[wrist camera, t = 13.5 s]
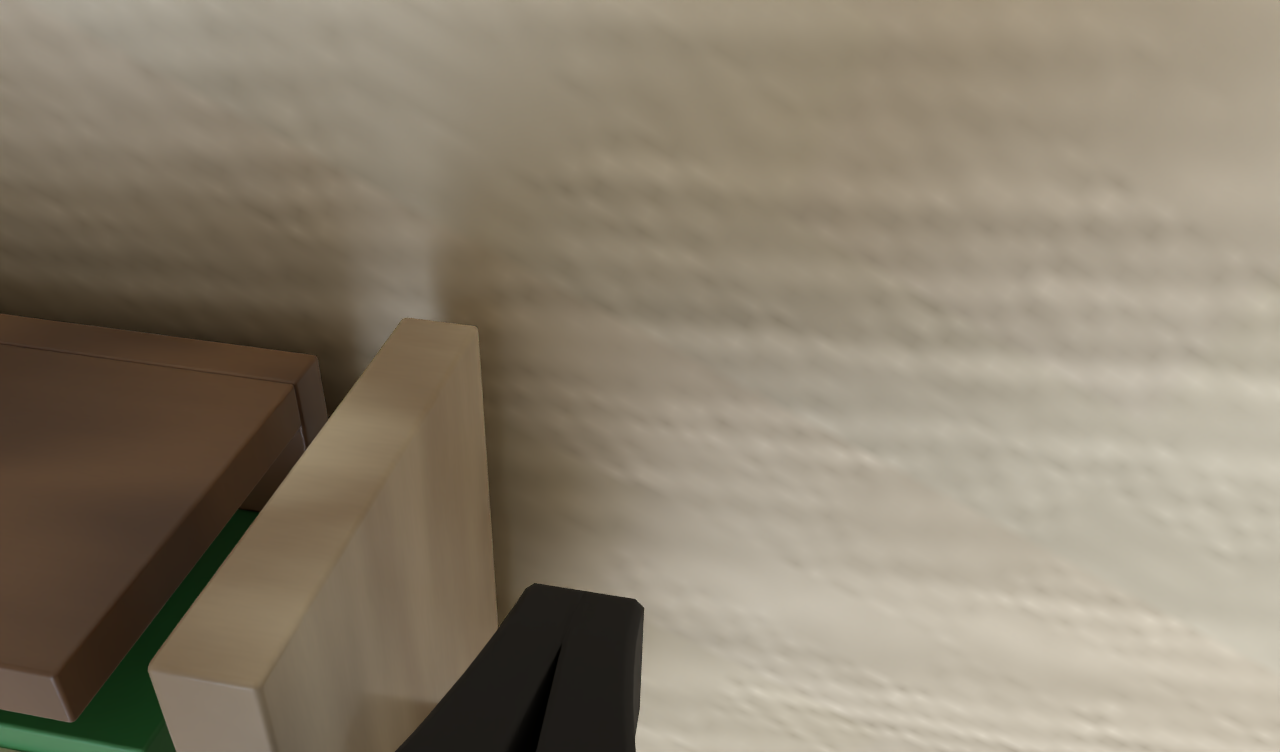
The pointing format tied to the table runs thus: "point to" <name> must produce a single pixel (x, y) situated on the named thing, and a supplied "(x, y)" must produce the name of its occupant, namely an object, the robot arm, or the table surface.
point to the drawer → (270, 548)
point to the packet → (126, 679)
